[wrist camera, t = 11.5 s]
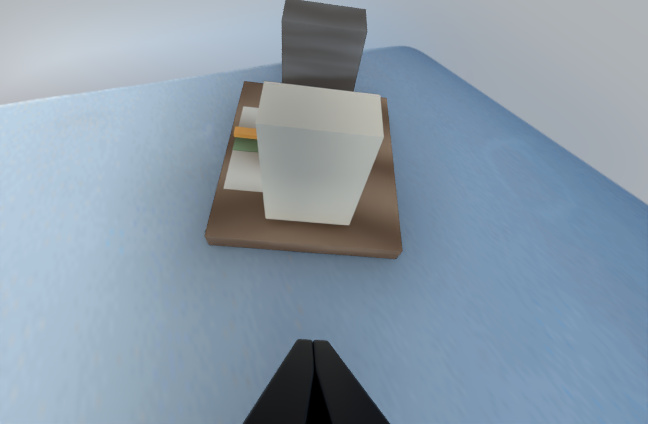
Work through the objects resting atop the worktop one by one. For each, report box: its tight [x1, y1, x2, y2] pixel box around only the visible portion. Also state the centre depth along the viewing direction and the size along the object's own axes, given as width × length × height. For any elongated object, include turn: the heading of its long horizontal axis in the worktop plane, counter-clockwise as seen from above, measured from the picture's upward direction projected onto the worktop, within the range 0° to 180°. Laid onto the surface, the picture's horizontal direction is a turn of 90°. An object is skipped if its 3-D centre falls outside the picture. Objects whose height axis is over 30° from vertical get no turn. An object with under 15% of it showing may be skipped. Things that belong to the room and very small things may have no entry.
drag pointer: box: [234, 126, 257, 139], centre depth 25 cm, size 1×5×2 cm, turn 87°
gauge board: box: [205, 0, 402, 259], centre depth 23 cm, size 16×14×10 cm
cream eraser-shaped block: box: [255, 81, 384, 225], centre depth 20 cm, size 7×6×9 cm
